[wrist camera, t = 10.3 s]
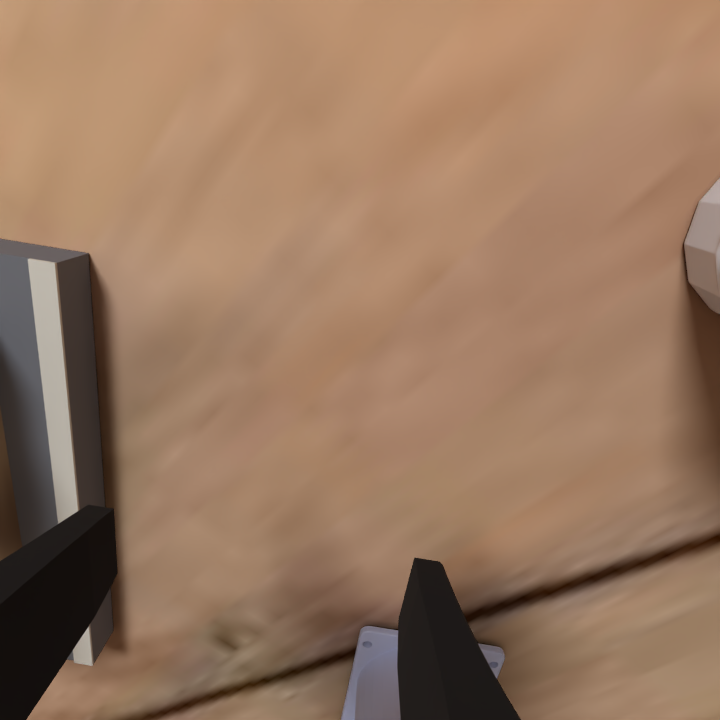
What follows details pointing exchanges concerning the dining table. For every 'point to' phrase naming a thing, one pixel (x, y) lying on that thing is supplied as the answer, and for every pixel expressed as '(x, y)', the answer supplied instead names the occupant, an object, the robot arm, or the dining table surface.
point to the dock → (51, 398)
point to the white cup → (705, 249)
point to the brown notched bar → (7, 504)
